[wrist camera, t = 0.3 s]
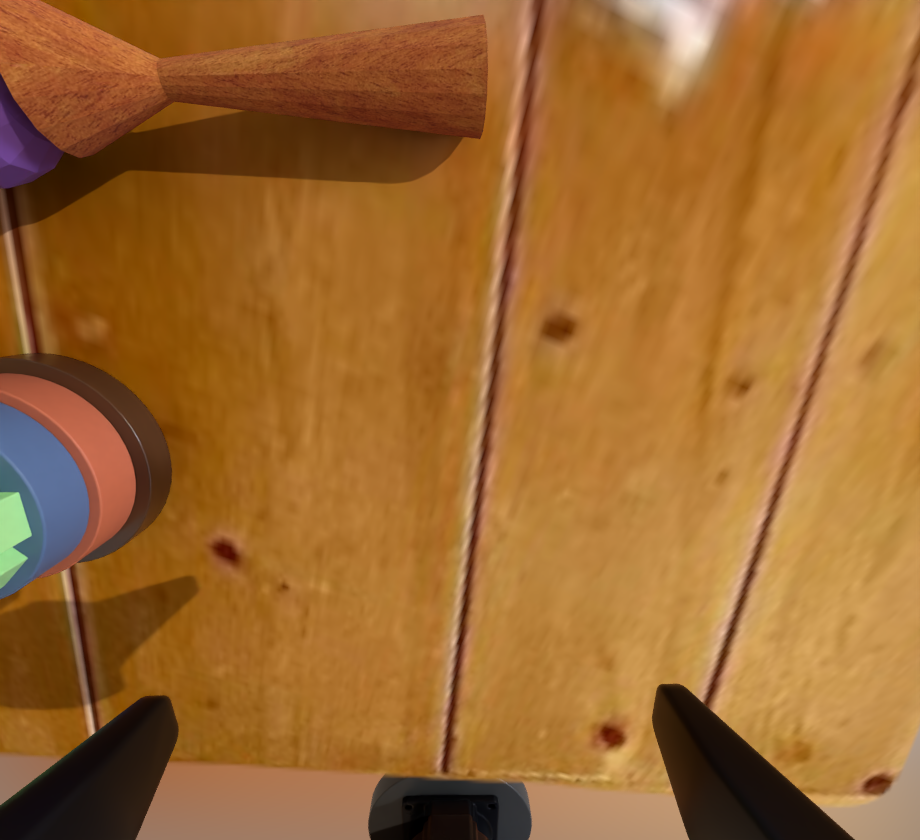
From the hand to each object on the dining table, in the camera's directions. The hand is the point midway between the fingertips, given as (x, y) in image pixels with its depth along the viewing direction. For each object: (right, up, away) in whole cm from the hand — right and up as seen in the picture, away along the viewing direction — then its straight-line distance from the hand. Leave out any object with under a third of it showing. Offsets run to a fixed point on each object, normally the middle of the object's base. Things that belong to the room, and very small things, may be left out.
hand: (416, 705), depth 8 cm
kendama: (-8, +17, +9) cm, 21 cm away
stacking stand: (-18, +4, +12) cm, 22 cm away
